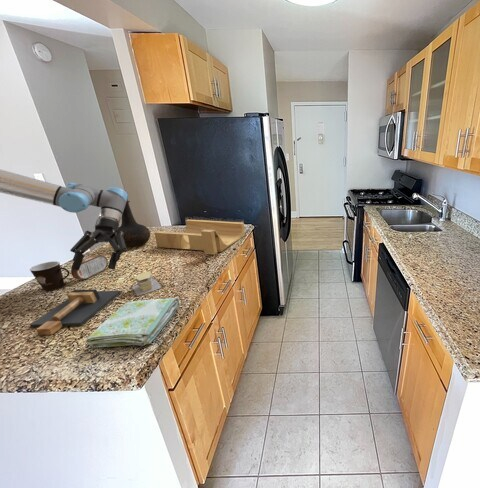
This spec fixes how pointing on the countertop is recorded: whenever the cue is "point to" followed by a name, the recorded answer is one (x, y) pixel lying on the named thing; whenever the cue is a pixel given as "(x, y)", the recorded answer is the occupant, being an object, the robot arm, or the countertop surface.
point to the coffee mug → (49, 275)
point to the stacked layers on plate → (145, 283)
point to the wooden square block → (49, 327)
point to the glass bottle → (132, 230)
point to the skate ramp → (202, 236)
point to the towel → (134, 323)
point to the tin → (90, 267)
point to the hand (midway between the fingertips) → (93, 269)
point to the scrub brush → (77, 301)
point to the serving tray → (78, 310)
